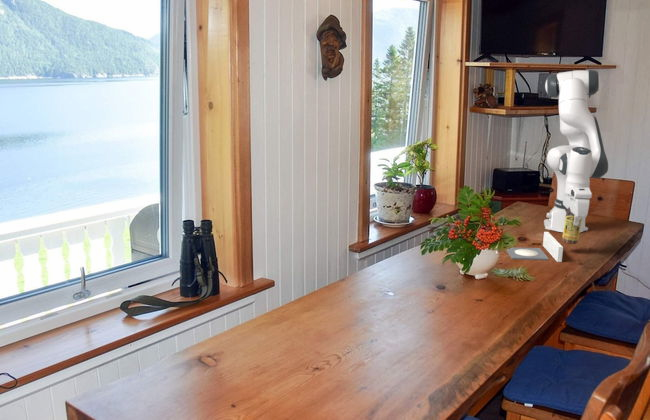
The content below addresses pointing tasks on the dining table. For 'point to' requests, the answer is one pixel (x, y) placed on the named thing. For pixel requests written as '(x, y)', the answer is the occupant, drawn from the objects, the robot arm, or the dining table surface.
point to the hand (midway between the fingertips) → (572, 222)
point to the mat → (527, 253)
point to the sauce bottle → (570, 229)
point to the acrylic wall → (552, 246)
